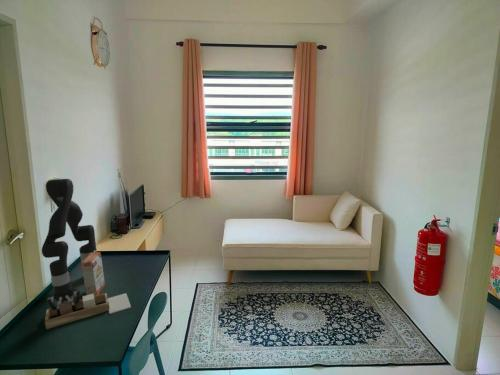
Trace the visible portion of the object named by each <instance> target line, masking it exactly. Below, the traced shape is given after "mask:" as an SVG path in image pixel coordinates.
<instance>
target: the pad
mask: <svg viewBox="0 0 500 375" xmlns="http://www.w3.org/2000/svg"><path fill="white" fill-rule="evenodd" d="M108 301H109V307H110V309H109V311H108V313H109V315H111V314H115V313H119V312H122V311H124V310H129V309H131V308H132V306H131V303H130V300H129V296H128V295H127V292H125V293H121V294H119V295H118V294H117V295H114V296H111V297H108Z"/></svg>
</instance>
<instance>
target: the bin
mask: <svg viewBox="0 0 500 375" xmlns="http://www.w3.org/2000/svg"><path fill="white" fill-rule="evenodd" d="M108 298H109V296H108V292H105V293H100V294H99V295H96V296H94V299H95V305H96V306H93V307H89V308H86V309H84V305H83V298H82V299H79V303H77V304H75V306H76V310H77V311H75V312H72V313H69V314H65V315H62V316H58V313H57V310H52V309H51V307H49V308H47V309H46V311H45V316H44V317H45V319H44V325H45V329H46V330H49V329H52V328H53V329H54V328H56V327H60V326H62V325H66V324H68V323H71V322H75V321H79V320H82V319H86V318H88V317H89V318H90V317H92V316H94V315H98V314H102V313H105V312H109V309H110V307H109V301H108ZM99 303H101V304H99ZM79 309H80V310H79ZM54 316H56V317H54Z"/></svg>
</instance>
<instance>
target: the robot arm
mask: <svg viewBox="0 0 500 375" xmlns="http://www.w3.org/2000/svg"><path fill="white" fill-rule="evenodd" d="M45 188H46V189H45V190H46V192H47V195H48V197H49V198H50V199H51V201H53V203H54V204H55V205H56V206H57V209H56V210H55V211H54V212H53V213H52V215H51V216H50V218H49V223H48V224H49V225H48V231H47V234H46V238H45V240H44V242H43V244H42V247H41V255H42V256H43V257H44V258H46V259H49V258H58V259H56V260H54V261H52V262H50V263H49V271H50V276H51V277H50V278H51V286H52V289H53V290H52V291H53V295H52V296H51V297H47V300H46V301H47V303H48V305H49V308H51V309H52V310H57V313H58V315H57V317H59V316H61V315H60V309H59V306H60V305H61V303H62V302H65V301H69V302H70V303H71V304H72V309H73V312H76V310H77V309H76V306H75V304H77V303H79V300H80V293H81V290H80V289H77V291H73V290H74V289H73V287H72V282H71V276H70V273H69V269H68V268H69V267H68V254H69V245H68V243H67V241H64V240H61V241H60V240H59V241H56V240H57V239H61V238H63V237H64V236H66V231H67V226H68V227H69V230H70V231H71V233H72V236H73V238H74V239H75V241H76V242H86V241H87V243H86V244H84V245H82V246H80V247H79V256H80V261H81V263H82V262H83V261H84V260H85V259H86V258H87V256H88V255H89V254H90V253H97V252H98V250H97V242H96V234H95V232H96V231H95V228H94V226H93V224H87V225H79V224H80V223H81V221H82V219H83V214H84V213H83V211H82V209H81V208H80V205H78V203H77V202H75V201H73V200H72V199H73V195H74V183H73V181H72V180H71V179H70V178H59V179H58V178H57V179H56V178H55V179H49V180H48V181H47V182H46V183H45ZM73 293H74V294H75V295H76V296H75V300H73V298H72V295H73ZM54 300H55V301H57V303H56V305H55V304H54Z"/></svg>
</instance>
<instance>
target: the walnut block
mask: <svg viewBox="0 0 500 375" xmlns="http://www.w3.org/2000/svg"><path fill="white" fill-rule="evenodd" d="M59 309H60V315H61V316H62V315H65V314H69V313H72V312H73V309H72V304H71V303H70V302H69V301H65V302H62V303H61V305H60V306H59Z"/></svg>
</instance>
